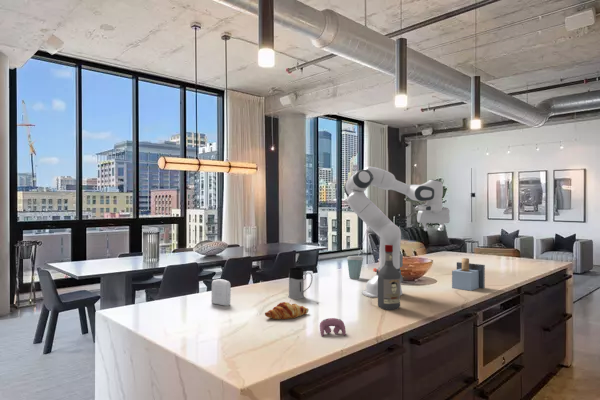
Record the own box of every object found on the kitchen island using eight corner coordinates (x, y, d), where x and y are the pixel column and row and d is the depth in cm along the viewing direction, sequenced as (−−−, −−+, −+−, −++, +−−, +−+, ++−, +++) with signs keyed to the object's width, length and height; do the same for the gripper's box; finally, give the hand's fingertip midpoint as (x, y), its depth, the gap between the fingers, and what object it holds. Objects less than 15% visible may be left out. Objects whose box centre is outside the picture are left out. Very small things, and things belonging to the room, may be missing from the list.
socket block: (470, 290, 242) (470, 272, 242) (452, 287, 250) (452, 270, 250) (478, 287, 250) (478, 270, 250) (460, 285, 258) (460, 268, 258)
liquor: (375, 306, 210) (375, 244, 210) (391, 304, 213) (391, 243, 213) (385, 310, 201) (385, 246, 201) (402, 308, 204) (402, 245, 204)
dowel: (464, 280, 248) (464, 259, 248) (460, 278, 252) (460, 258, 252) (470, 279, 249) (470, 258, 249) (466, 278, 253) (466, 258, 253)
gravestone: (231, 304, 213) (231, 279, 213) (226, 306, 209) (226, 280, 209) (215, 302, 218) (215, 277, 218) (210, 303, 214) (210, 279, 214)
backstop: (469, 294, 236) (469, 268, 236) (442, 290, 247) (442, 265, 247) (484, 288, 250) (484, 264, 250) (458, 285, 261) (458, 262, 261)
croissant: (305, 320, 198) (301, 302, 202) (315, 314, 190) (311, 296, 194) (262, 325, 188) (259, 307, 191) (271, 319, 180) (268, 300, 184)
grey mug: (293, 294, 236) (293, 267, 236) (316, 297, 228) (316, 269, 228) (284, 297, 228) (284, 269, 228) (308, 300, 221) (308, 271, 221)
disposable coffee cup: (344, 277, 288) (344, 255, 288) (358, 276, 291) (358, 254, 291) (350, 280, 278) (350, 257, 278) (366, 279, 281) (366, 256, 281)
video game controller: (344, 337, 167) (343, 318, 170) (346, 335, 163) (345, 316, 166) (319, 337, 166) (318, 319, 170) (320, 335, 162) (319, 316, 165)
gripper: (446, 207, 260) (444, 229, 261) (416, 206, 254) (414, 229, 255) (452, 208, 254) (451, 231, 255) (422, 207, 248) (420, 231, 249)
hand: (432, 230), depth 255 cm, fingers open, 8 cm apart
